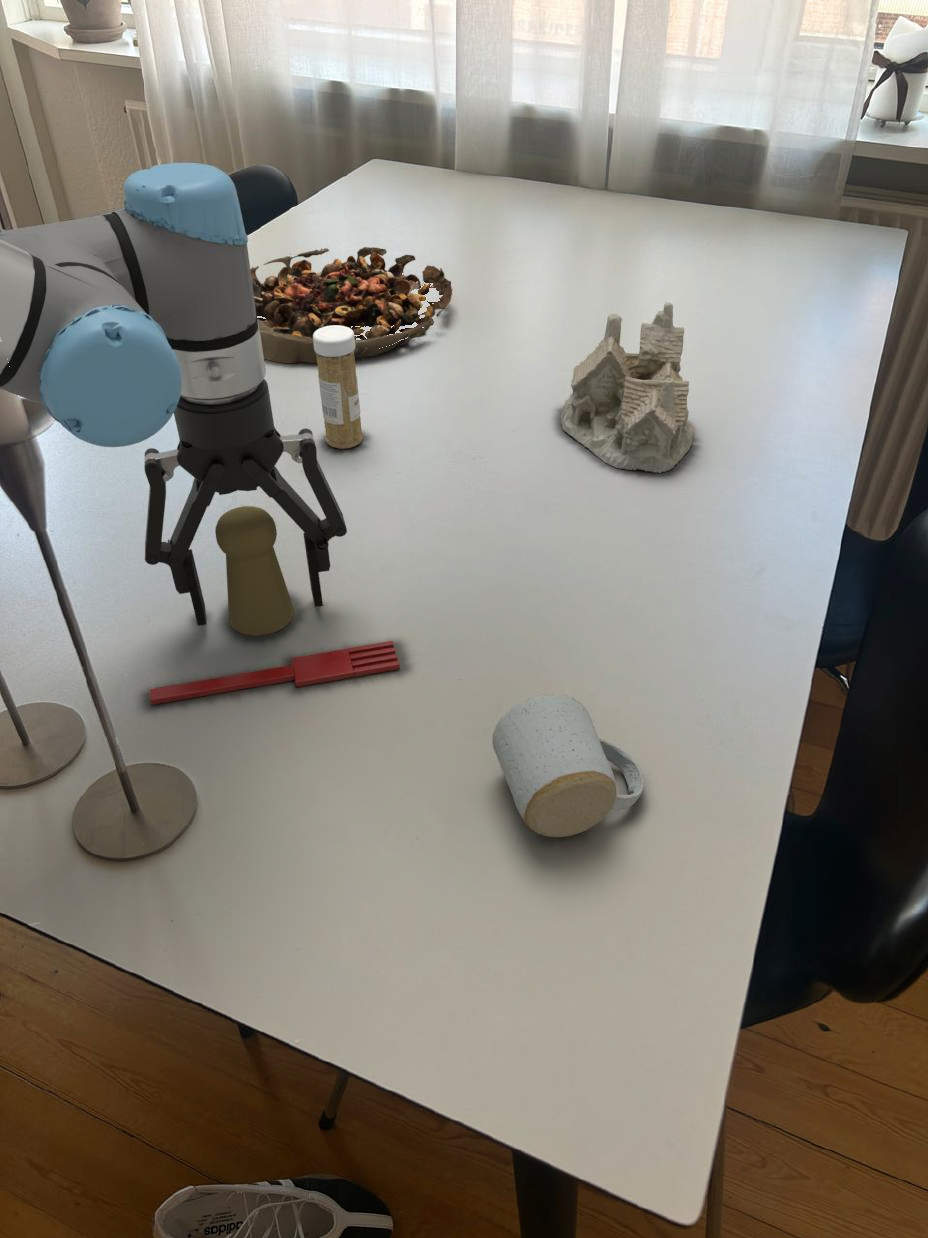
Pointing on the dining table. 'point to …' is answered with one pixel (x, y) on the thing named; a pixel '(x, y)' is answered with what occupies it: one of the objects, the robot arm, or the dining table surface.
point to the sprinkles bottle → (338, 385)
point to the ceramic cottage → (632, 398)
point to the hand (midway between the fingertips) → (259, 606)
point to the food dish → (343, 304)
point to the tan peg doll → (253, 572)
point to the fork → (292, 672)
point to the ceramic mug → (561, 766)
